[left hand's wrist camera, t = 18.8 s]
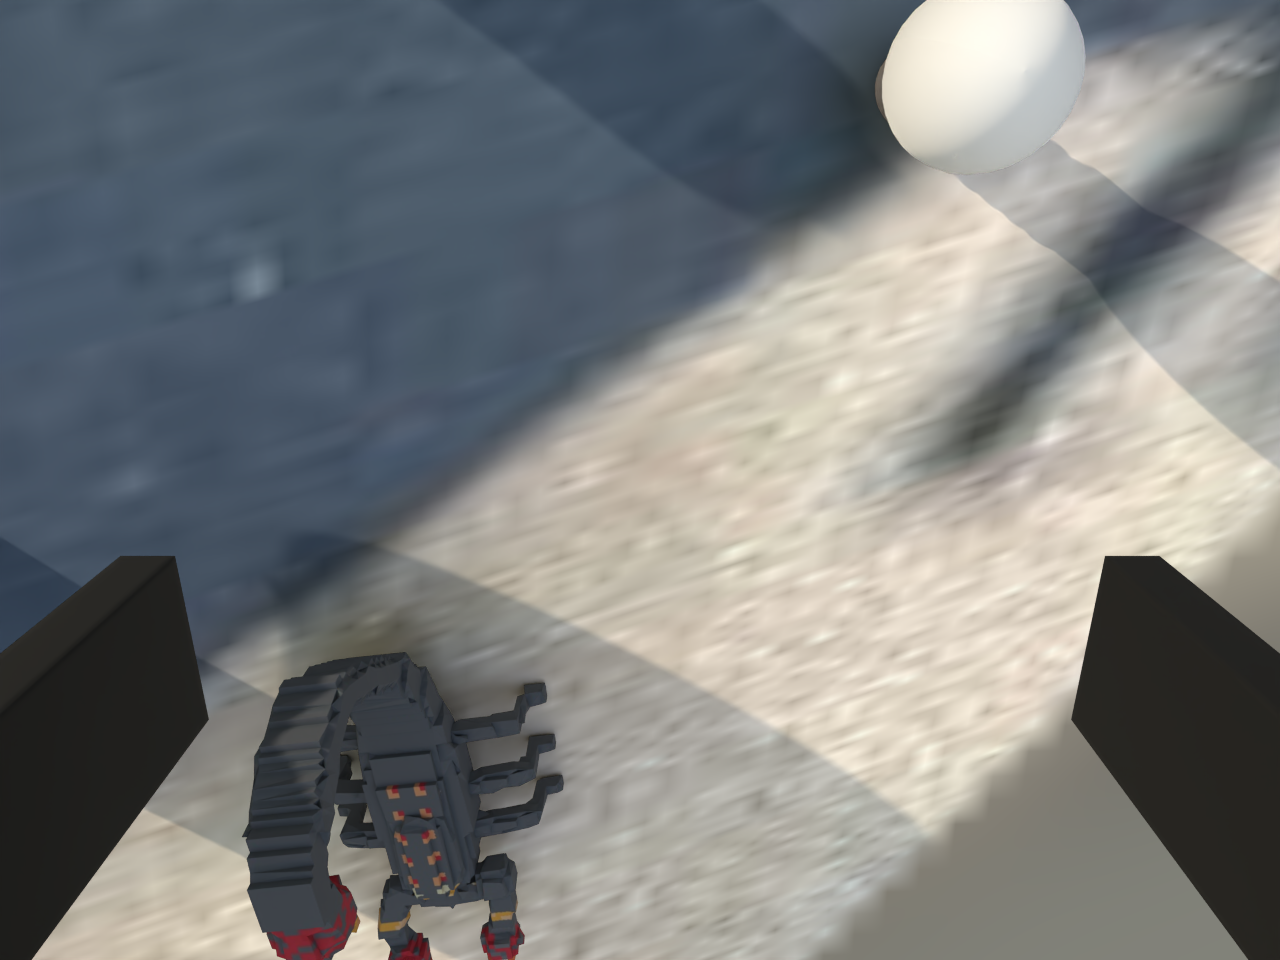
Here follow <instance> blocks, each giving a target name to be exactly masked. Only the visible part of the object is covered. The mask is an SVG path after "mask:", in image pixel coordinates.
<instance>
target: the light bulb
mask: <svg viewBox="0 0 1280 960" xmlns="http://www.w3.org/2000/svg"><path fill="white" fill-rule="evenodd" d="M1084 70H1085V48H1084V39H1083V36H1082V33H1081V30H1080V27H1079V24H1078V22H1077V20H1076V18H1075V16H1074V15H1073V13H1072V11H1071V9H1070V8H1069V6H1068V5H1067V3H1066V2H1065V1H1064V0H926V1H925V2H924V3H923V4H922V5H921V6H919V7H918V8H917V9H916V10H915V11H914V12H913V13H912V14H911V16H910V17H909V18H908V19H907V20H906V22H905V23H904V24H903V25H902V27H901V29H900V30H899V32H898V34H897V36H896V37H895V39H894V41H893V43H892V45H891V48H890V51H889V54H888V56H887V59H886V60H885V61H884V63H883V64H882V66H881V68H880V70H879V72H878V75H877V78H876V83H875V96H876V101H877V105H878V107H879V109H880V111H881V113H882V115H883V117H884V118H885V119H886V120H887V121H888V123H889V125H890V127H891V130H892V132H893V134H894V135H895V137H896V138H897V140H898V141H899V143H900V144H901V146H902V147H903V148H904V149H905V150H906V151H908V152H909V153H910V154H911V155H912V156H913V157H914V158H916V159H917V160H919V161H921V162H922V163H924V164H926V165H927V166H930V167H932V168H935V169H938V170H941V171H944V172H947V173H952V174H962V175H971V174H980V173H989V172H994V171H997V170H1000V169H1004V168H1007V167H1010V166H1012V165H1013V164H1015V163H1017V162H1019V161H1021V160H1023V159H1025V158H1027V157H1028V156H1030V155H1031V154H1033V153H1034V152H1036V151H1037V150H1038V149H1039V148H1041V147H1042V146H1043V145H1045V144H1046V143H1047V142H1048V141H1049V140H1050V139H1051V138H1052V137H1053V136H1054V134H1055V133H1056V132H1057V131H1058V130H1059V129H1060V128H1061V126H1062V125H1063V123H1064V122H1065V120H1066V119H1067V117H1068V116H1069V114H1070V112H1071V110H1072V108H1073V106H1074V104H1075V101H1076V99H1077V97H1078V95H1079V92H1080V89H1081V85H1082V81H1083V77H1084Z"/></svg>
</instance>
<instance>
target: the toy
mask: <svg viewBox="0 0 1280 960" xmlns="http://www.w3.org/2000/svg"><path fill="white" fill-rule="evenodd" d="M524 690H525V694H523V695H520V696H518V697H517V700H516V704H515V708H514V711H508V712H502V713H497V714H492V715H491V716H487V717H478V718H469V719H460V720H458V721H456V722H455V721H454V719H453V717H452V715H451V713H450V711H449V709H448V708H447V706H446V704H445V703H444V701H443V700H442V698H441V697H440V696H439V694H438V692H437V689H436V687H435V684H434V682H433V680H432V678H431V676H430V674H429V672H428V670H427V668H426V667H417V666H416V664H414V663H412V661H411V659H410V658H409V657H408V655H407V654H406V652H403V653H393V654H383V655H373V656H364V657H354V658H346V659H338V660H333V661H328V662H327V663H321V664H319V665H315V666H309V668H308V669H307V671H306V672H305V674H304V675H303V677H294V678H291V679H288V680H284V681H283V682H282V684H281V686H280V687H279V693H278V695H277V698H276V700H275V702H274V704H273V707H272V711H271V715H270V719H269V723H268V726H267V730H266V734H265V737H264V740H263V741H262V743H261V745H260V746H259V749H258V751H257V753H256V754H255V756H254V783H253V789H252V796H251V803H250V810H249V824H248V826H247V828H246V830H245V832H244V834H243V836H242V837H247V839H246V843H247V845H248V848H249V851H250V854H249V856H248V858H247V862H248V866H249V870H250V885H249V887H248V889H247V892H248V894H249V897H250V900H251V902H252V905H253V908H254V911H255V913H256V916H257V919H258V922H259V924H260V927H261V930H262V933H264V932H267V936H268V939H269V942H270V944H271V947H272V949H276V952H277V956H278V957H281V958H284V959H286V960H332V958H333V955H334V954H335V953H337V952H339V951H341V950H342V949H344V947H345V945H346V942H347V940H348V938H349V936H350V934H351V933H352V932H355V933H356V932H357V929H358V926H359V924H360V920H359V917H358V915H357V906H356V904H355V902H354V899H353V897H352V894H351V892H350V891H349V889H348V888H347V887H346V886H343V885H342V883H341V879H340V876H339V875H333V876H329V873H328V868H327V866H328V851H327V845H328V843H329V840H330V831H331V827H332V823H333V819H334V815H335V810H334V803H335V804H336V805H339V806H338V811H339V815H340V816H347V817H348V818H347V820H346V822H345V825H344V827H343V829H342V832H341V834H340V837H341V840H342V842H343V844H344V845H346V846H347V847H353V848H386V851H387V855H388V858H389V862H390V865H391V869H392V872H393V874H397V873H398V874H399V875H390V879H387V880H386V883H385V886H384V890H383V899H381V908H379V920H378V938H379V939H385V940H386V942H387V943H388V944H389V946H390V948H391V950H390V954H389V958H388V960H432V957H431V953H430V947H429V940H428V938H423V933H416V932H415V931H414V930H412V929H411V928H410V927H409V926H408V921H409V918H410V916H411V915H410V908H411V906H412V905H417V904H420V905H421V907H429V906H435V907H446V906H451V907H452V908H454V906H455V905H456V904H461V903H467V902H473V901H478V900H481V899H484V901H487V900H489V906H490V912H491V913H490V916H489V922H487V923H486V924H484V925H483V926H482V931H481V937H480V939H481V943H482V947H483V951H484V953H487V955H488V960H504V959H508V960H515V956H516V955H517V954H518V947H519V945H521V944H524V937H525V935H524V934H523V932H522V931H521V929H520V924H519V923H518V922H517V919H516V914H515V912H516V909H517V904H518V901H517V896H516V891H515V889H516V881H517V870H516V866H515V862H514V861H512V860H510V859H509V858H508V857H507V855H506V853H505V854H504V853H503V854H497V855H491V856H487V857H486V858H485V860H484V861H482V862H479V863H478V859H479V854H480V848H479V843H480V839H481V837H485V836H490V835H496V834H502V833H507V832H511V831H516V830H520V829H525V828H529V827H532V826H534V825H537V824H539V822H540V819H541V815H542V812H543V809H544V805H545V802H546V799H547V795H548V794H553V793H558V792H560V791H561V790H563V785H564V782H563V777H562V775H559V776H553V777H546V778H542V779H540V780H538V781H537V784H536V788H535V791H534V795H533V798H532V799H531V800H530V801H529V802H527V803H526V804H522V805H517V806H512V807H506V808H501V809H492V810H488V811H482V810H479V807H480V803H481V801H480V797H479V794H487V793H494V792H496V791H498V790H500V789H502V788H505V787H513V786H520V785H522V784H524V783H526V782H528V781H530V780H532V779H534V778H536V772H537V766H538V760H539V754H540V753H544V752H548V751H551V750H554V749H555V746H556V740H555V735H554V734H551V735H542V736H532V737H529V742H528V748H527V753H526V756H524V757H521V758H520V761H519V762H508V763H503V764H497V765H492V766H487V767H481V768H479V769H477V770H475V771H473V767H472V763H471V759H470V756H469V752H468V749H467V745H466V742H471V741H478V740H484V739H491V738H498V737H503V736H509V735H514V734H519V733H520V730H521V726H522V723H525V714H526V712H527V711H528V709H529V708H530V707H531V706H535V705H539V704H542V703H545V702H546V700H547V692H546V687H545V683H540V684H530V685H524ZM349 716H350V718H351V719H352V721H353V722H354V723H355V725H347V723H348V719H349ZM356 749H358V753H359V760H360V765H361V770H362V776H363V780H350V779H351V776H352V771H351V761H350V759H349V758H348V756H340V752H342V751H349V750H356ZM366 804H368V808H369V811H370V815H371V818H372V822H373V823H363V819H364V816H365V812H366V808H367V806H366Z"/></svg>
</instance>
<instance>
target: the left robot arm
mask: <svg viewBox="0 0 1280 960" xmlns="http://www.w3.org/2000/svg"><path fill="white" fill-rule="evenodd" d="M208 720H209V719H208V714H207V709H206V704H205V699H204V694H203V690H202V685H201V680H200V675H199V670H198V665H197V661H196V656H195V651H194V646H193V641H192V636H191V632H190V627H189V622H188V617H187V612H186V607H185V603H184V598H183V593H182V588H181V583H180V578H179V574H178V569H177V564H176V559H175V556H120V557H119V558H118V559H116V560H115V561H114V562H113V563H111V564H110V565H109V566H108V567H106V568H105V569H104V570H103V571H102V572H100V573H99V574H98V575H97V576H95V577H94V578H93V579H92V580H90V581H89V582H88V583H87V584H85V585H84V586H83V587H82V588H81V589H79V590H78V591H77V592H76V593H74V594H73V595H72V596H71V597H69V598H68V599H67V600H66V601H65V602H63V603H62V604H61V605H60V606H58V607H57V608H56V609H55V610H53V611H52V612H51V613H50V614H48V615H47V616H46V617H45V618H44V619H42V620H41V621H40V622H39V623H37V624H36V625H35V626H34V627H32V628H31V629H30V630H29V631H28V632H26V633H25V634H24V635H23V636H21V637H20V638H19V639H18V640H16V641H15V642H14V643H13V644H11V645H10V646H9V647H8V648H7V649H5V650H4V651H3V652H2V653H0V960H32V958H33V957H34V956H35V954H36V953H37V952H38V950H39V949H40V948H41V946H42V945H43V944H44V942H45V941H46V939H47V938H48V937H49V935H50V934H51V933H52V931H53V930H54V929H55V927H56V926H57V925H58V923H59V922H60V921H61V919H62V918H63V916H64V915H65V914H66V912H67V911H68V910H69V908H70V907H71V906H72V904H73V903H74V902H75V900H76V899H77V897H78V896H79V895H80V893H81V892H82V891H83V889H84V888H85V887H86V885H87V884H88V883H89V881H90V880H91V878H92V877H93V876H94V874H95V873H96V872H97V870H98V869H99V868H100V866H101V865H102V864H103V862H104V861H105V860H106V858H107V857H108V855H109V854H110V853H111V851H112V850H113V849H114V847H115V846H116V845H117V843H118V842H119V841H120V839H121V838H122V836H123V835H124V834H125V832H126V831H127V830H128V828H129V827H130V826H131V824H132V823H133V822H134V820H135V819H136V817H137V816H138V815H139V813H140V812H141V811H142V809H143V808H144V807H145V805H146V804H147V803H148V801H149V800H150V798H151V797H152V796H153V794H154V793H155V792H156V790H157V789H158V788H159V786H160V785H161V784H162V782H163V781H164V780H165V778H166V777H167V775H168V774H169V773H170V771H171V770H172V769H173V767H174V766H175V765H176V763H177V762H178V761H179V759H180V758H181V756H182V755H183V754H184V752H185V751H186V750H187V748H188V747H189V746H190V744H191V743H192V742H193V740H194V739H195V737H196V736H197V735H198V733H199V732H200V731H201V729H202V728H203V727H204V725H205V724H206V723H207V721H208ZM1071 720H1072V721H1073V723H1074V724H1075V725H1076V727H1077V728H1078V729H1079V731H1080V732H1081V733H1082V735H1083V736H1084V737H1085V739H1086V740H1087V742H1088V743H1089V744H1090V746H1091V747H1092V748H1093V750H1094V751H1095V752H1096V754H1097V755H1098V756H1099V758H1100V759H1101V761H1102V762H1103V763H1104V765H1105V766H1106V767H1107V769H1108V770H1109V771H1110V773H1111V774H1112V775H1113V777H1114V778H1115V780H1116V781H1117V782H1118V784H1119V785H1120V786H1121V788H1122V789H1123V790H1124V792H1125V793H1126V794H1127V796H1128V797H1129V799H1130V800H1131V801H1132V803H1133V804H1134V805H1135V807H1136V808H1137V809H1138V811H1139V812H1140V813H1141V815H1142V816H1143V817H1144V819H1145V820H1146V822H1147V823H1148V824H1149V826H1150V827H1151V828H1152V830H1153V831H1154V832H1155V834H1156V835H1157V836H1158V838H1159V839H1160V840H1161V842H1162V843H1163V845H1164V846H1165V847H1166V849H1167V850H1168V851H1169V853H1170V854H1171V855H1172V857H1173V858H1174V860H1175V861H1176V862H1177V864H1178V865H1179V866H1180V868H1181V869H1182V870H1183V872H1184V873H1185V874H1186V876H1187V877H1188V878H1189V880H1190V881H1191V883H1192V884H1193V885H1194V887H1195V888H1196V889H1197V891H1198V892H1199V893H1200V895H1201V896H1202V897H1203V899H1204V900H1205V902H1206V903H1207V904H1208V906H1209V907H1210V908H1211V910H1212V911H1213V912H1214V914H1215V915H1216V916H1217V918H1218V919H1219V921H1220V922H1221V923H1222V925H1223V926H1224V927H1225V929H1226V930H1227V931H1228V933H1229V934H1230V935H1231V937H1232V938H1233V939H1234V941H1235V942H1236V944H1237V945H1238V946H1239V948H1240V949H1241V950H1242V952H1243V953H1244V954H1245V956H1246V957H1247V958H1248V960H1280V653H1278V652H1277V651H1276V650H1275V649H1273V648H1272V647H1271V646H1270V645H1269V644H1267V643H1266V642H1265V641H1264V640H1262V639H1261V638H1260V637H1259V636H1257V635H1256V634H1255V633H1254V632H1252V631H1251V630H1250V629H1249V628H1248V627H1246V626H1245V625H1244V624H1243V623H1241V622H1240V621H1239V620H1238V619H1236V618H1235V617H1234V616H1233V615H1232V614H1230V613H1229V612H1228V611H1227V610H1225V609H1224V608H1223V607H1222V606H1220V605H1219V604H1218V603H1217V602H1215V601H1214V600H1213V599H1212V598H1211V597H1209V596H1208V595H1207V594H1206V593H1204V592H1203V591H1202V590H1201V589H1199V588H1198V587H1197V586H1196V585H1195V584H1193V583H1192V582H1191V581H1190V580H1188V579H1187V578H1186V577H1185V576H1183V575H1182V574H1181V573H1180V572H1178V571H1177V570H1176V569H1175V568H1174V567H1172V566H1171V565H1170V564H1169V563H1167V562H1166V561H1165V560H1164V559H1162V558H1161V557H1160V556H1105V559H1104V564H1103V569H1102V574H1101V578H1100V583H1099V588H1098V593H1097V598H1096V603H1095V607H1094V612H1093V617H1092V622H1091V627H1090V632H1089V636H1088V641H1087V646H1086V651H1085V656H1084V661H1083V665H1082V670H1081V675H1080V680H1079V685H1078V690H1077V694H1076V699H1075V704H1074V709H1073V714H1072V719H1071Z"/></svg>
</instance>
